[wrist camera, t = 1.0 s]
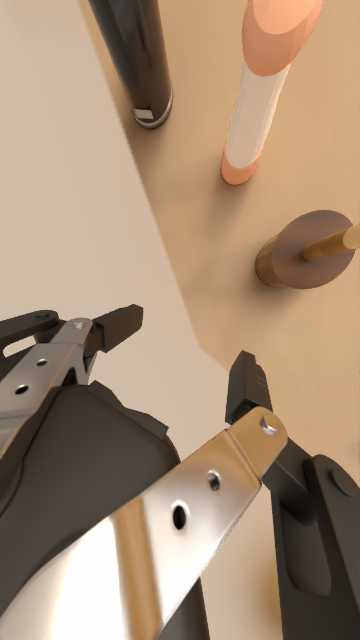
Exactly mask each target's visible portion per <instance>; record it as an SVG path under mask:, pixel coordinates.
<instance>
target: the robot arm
mask: <svg viewBox="0 0 360 640" xmlns="http://www.w3.org/2000/svg"><path fill="white" fill-rule="evenodd" d="M88 1H89V4H90V6H91V9H92V11H93V14H94V16H95V19H96V21H97V24H98V26H99V29H100V31H101V34H102V36H103V39H104V41H105V44H106V46H107V49H108V51H109V54H110V56H111V59H112V61H113V64H114V66H115V69H116V71H117V74H118V76H119V79H120V81H121V84H122V86H123V89H124V91H125V94H126V96H127V99H128V101H129V104H130V106H131V110H132V112H133V115H134V117H135V119H136V121H137V122H138V124H139V125H140V126H142V127H144V128H146V129H153V128H156V127H158V126H160V125H161V124H162V123H163V122H164V121H165V119H166V118H167V116H168V114H169V112H170V110H171V106H172V101H173V90H172V83H171V79H170V74H169V68H168V62H167V55H166V49H165V43H164V37H163V30H162V24H161V18H160V12H159V6H158V0H88ZM142 319H143V308H142V307H140V306H138V305H135V304H132V305H130V306H128V307H124V308H119V309H116V310H114V311H112V312H109V313H107V314H104V315H102V316H100V317H97V318H95V319H93V320H90V319H88V318H75V319H71V320H69V321H65V320H60V319H59V316H58V313H57V312H55V311H52V310H40V311H35V312H31V313H28V314H25V315H21V316H18V317H14V318H10V319H7V320H3V321H0V640H210V636H209V629H208V623H207V617H206V611H205V604H204V598H203V592H202V586H201V580H200V575H201V573H202V572H203V571H204V569H205V568H206V566H207V565H208V564H209V562H210V561H211V559H212V557H213V556H214V555H215V554H216V552H217V551H218V549H219V548H220V546H221V545H222V544H223V542H224V541H225V539H226V538H227V536H228V535H229V534H230V532H231V531H232V529H233V528H234V527H235V525H236V524H237V522H238V521H239V519H240V518H241V517H242V515H243V514H244V512H245V511H246V509H247V508H248V507H249V505H250V503H251V502H252V501H253V499H254V498H255V497H256V495H257V494H258V492H259V491H260V489H261V486H262V483H261V481H262V482H263V484H264V485H265V486H266V487H267V488H268V489H269V490H270V491H271V503H272V514H273V525H274V537H275V549H276V561H277V572H278V584H279V596H280V608H281V619H282V631H283V640H360V488H359V487H358V486H357V484H356V483H355V482H354V480H353V479H352V478H351V477H350V475H349V474H348V473H347V472H346V471H345V470H344V469H343V468H342V467H341V466H340V465H338V464H337V463H336V462H335V461H333V460H332V459H330V458H329V457H327V456H324V455H320V454H319V455H316V456H313V457H311V456H310V455H309V454H308V453H307V452H305V451H304V450H303V449H302V448H301V447H299V446H298V445H297V444H296V443H295V442H293V441H292V440H291V439H290V438H289V437H288V435H287V432H286V429H285V427H284V425H283V424H282V422H281V421H280V419H279V418H278V417H277V416H276V415H275V414H274V413H273V409H272V405H271V400H270V395H269V390H268V385H267V382H266V376H265V373H264V371H263V370H262V368H261V366H259V365H257V364H256V360H255V355H253V354H250V353H248V352H246V351H243V350H242V351H241V352H240V354H239V356H238V357H237V359H236V360H235V362H234V364H233V365H232V367H231V370H230V374H229V384H228V394H227V405H226V415H225V422H227V423H228V424H230V425H231V426H230V427H229V428H228V429H224V430H223V431H221V432H220V433H219V434H217V435H216V436H215V437H214V438H212V439H211V440H210V441H208V442H207V443H206V444H204V445H203V446H202V447H200V448H199V449H198V450H196V451H195V452H194V453H193V454H192V455H190V456H189V457H188V458H186V459H185V460H183V461H182V462H181V461H180V458H179V455H178V453H177V450H176V448H175V446H174V445H173V443H172V441H171V440H170V439H169V437H168V436H167V435H166V432H167V430H168V426H166V425H164V424H163V423H161V422H160V421H158V420H157V419H155V418H153V417H152V416H150V415H149V414H146V413H142V412H139V411H135V410H132V409H128V408H125V407H124V406H123V405H122V404H121V402H120V401H119V400H118V399H117V397H116V396H115V395H114V393H113V392H112V391H111V390H110V389H109V388H107V387H105V386H104V385H102V384H101V383H99V382H98V381H96V380H95V381H93V382H92V383H91V384H90V385H88V379H89V376H90V373H91V370H92V367H93V364H94V361H95V359H96V356H97V351H99V350H101V351H103V352H105V353H107V352H108V351H110V350H111V349H113V348H114V347H115V346H117V345H118V344H120V343H121V342H123V341H124V340H125V339H126V338H128V337H130V336H131V335H132V334H134V333H135V332H136V331H138V330H139V329H140V327H141V326H142ZM32 335H33V337H34V339H35V341H36V344H35V345H33V346H30V347H28V348H26V349H24V350H22V351H19V352H17V353H15V354H13V355H11V356H8V357H6V358H5V356H4V354H3V350H4V348H5V347H6V346H7V345H9V344H12V343H14V342H16V341H19V340H22V339H24V338H27V337H29V336H32ZM260 480H261V481H260Z"/></svg>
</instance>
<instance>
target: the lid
mask: <svg viewBox="0 0 360 640" xmlns="http://www.w3.org/2000/svg"><path fill="white" fill-rule="evenodd" d="M358 248H360V224H356V225H353V224H352V223H351V221H350V220H349V219H348V218H347V217H345V216H344V215H342V214H340V213H338V212H335V211H330V210H318V211H313V212H309V213H306V214H304V215H302V216H300V217H298V218H297V219H295V220H293V221H292V222H291V223H290V224H288V225H287V226H286V227H285V228H284V229H283V230H282V231H281V233H280V234H279V235H278V237H277V238H276V240H275V242H274V244H273V247H272V250H271V255H270V263H271V268H272V271H273V273H274V275H275V277H276V278H277V279H278V280H279V281H280V282H281V283H283V284H284V285H286V286H288V287H291V288H295V289H311V288H316V287H319V286H322V285H324V284H326V283H328V282H330V281H332V280H333V279H335V278H336V277H337V276H339V275H340V274H341V273H342V272H343V271H344V270H345V269H346V267H347V266H348V265H349V263H350V261H351V260H352V258H353V255H354V253H355V249H358Z"/></svg>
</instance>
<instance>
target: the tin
mask: <svg viewBox="0 0 360 640" xmlns="http://www.w3.org/2000/svg"><path fill="white" fill-rule="evenodd" d="M280 233H281V232H280ZM280 233H279V234H280ZM279 234H278V235H279ZM278 235H276V236H275V237H273V238H272V239H271V240H269V241H268V242H267V243H266V244H265V245H264V246H263V248H262V249H261V250H260V252H259V254H258V256H257V259H256V273H257V275H258V277H259V279H260V280H261V281H262V282H263V283H264V284H266V285H268V286H271V287H275V288H285V287H288V286H286V285H284V284H283V283H281V282H280V281H279V280H278V279H277V278H276V277H275V275H274V273H273V271H272V268H271V263H270V255H271V250H272V247H273V244H274V242H275V240H276V238H277V237H278Z"/></svg>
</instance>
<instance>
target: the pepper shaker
mask: <svg viewBox="0 0 360 640" xmlns="http://www.w3.org/2000/svg"><path fill="white" fill-rule="evenodd" d="M322 2H323V0H248V3H247V6H246V10H245V13H244V19H243V26H242V45H243V54H244V64H243V70H242V75H241V81H240V86H239V92H238V96H237V100H236V103H235V107H234V110H233V113H232V117H231V120H230V124H229V130H228V138H227V141H226V144H225V146H224V152H223V159H222V167H221V170H222V175H223V177H224V179H225V180H226V181H227V182H228V183H230V184H233V185H238V184H241V183H243V182H245V181H246V180H248V179H249V178H250V176H251V175H252V174H253V172H254V170H255V167H256V165H257V163H258V160H259V158H260V156H261V153H262V150H263V144H264V141H265V139H266V136H267V134H268V132H269V130H270V126H271V122H272V119H273V115H274V111H275V108H276V104H277V100H278V97H279V94H280V91H281V89H282V86H283V84H284V81H285V78H286V76H287V73H288V70H289V68H290V65H291V63H292V61H293V59H294V58H295V57H296V55H297V54H298V53H299V51H300V50H301V48H302V47H303V45H304V44H305V42H306V41H307V39H308V37H309V36H310V34H311V32H312V30H313V28H314V25H315V23H316V21H317V19H318V16H319V13H320V9H321V5H322Z"/></svg>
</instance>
